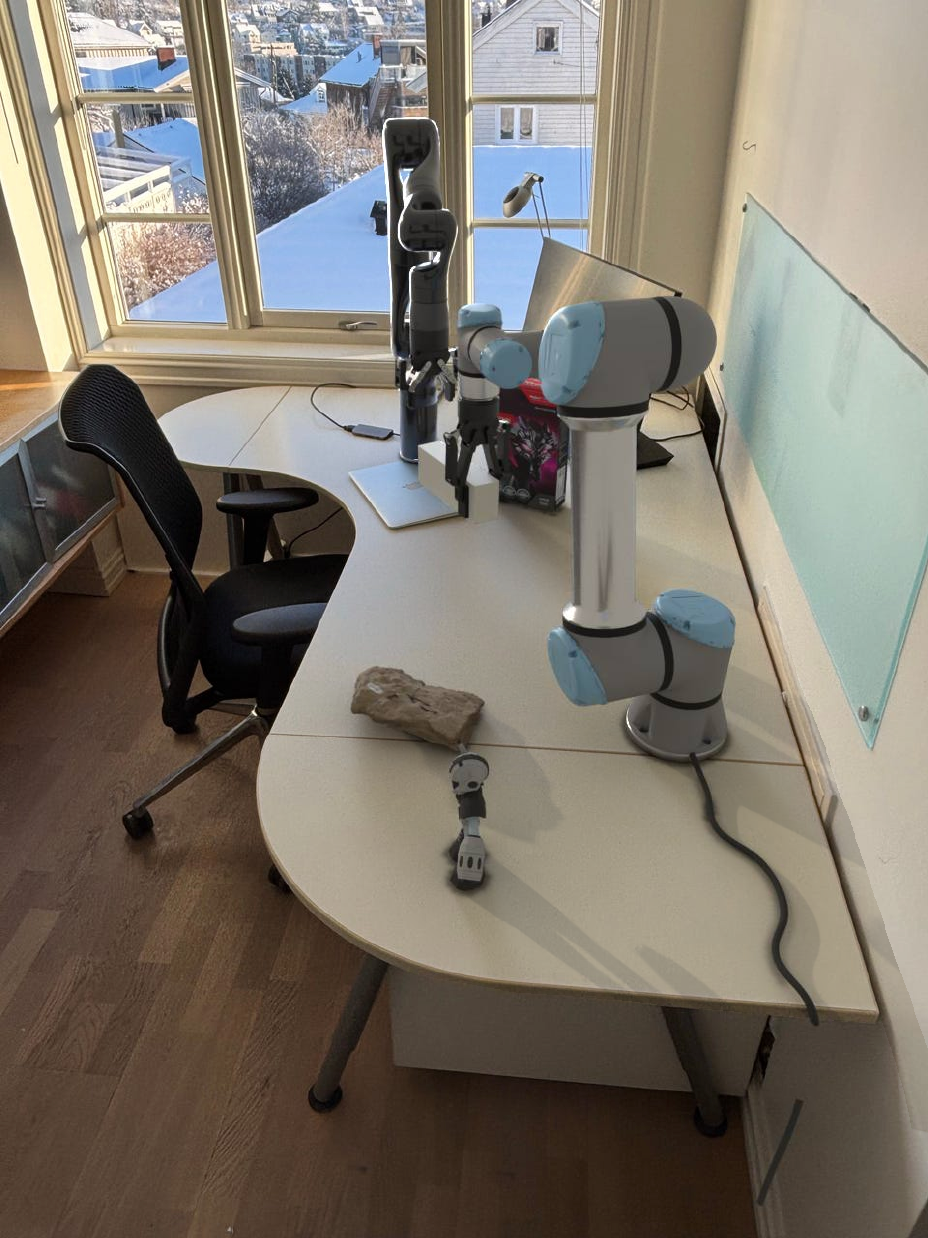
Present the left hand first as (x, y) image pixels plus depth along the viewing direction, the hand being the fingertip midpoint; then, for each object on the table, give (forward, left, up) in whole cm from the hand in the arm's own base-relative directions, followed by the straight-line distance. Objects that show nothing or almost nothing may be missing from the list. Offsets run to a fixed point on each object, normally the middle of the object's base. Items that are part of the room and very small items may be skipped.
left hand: (430, 404), depth 184 cm
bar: (+12, +4, -16) cm, 20 cm away
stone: (+64, -11, -27) cm, 71 cm away
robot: (+95, -7, -27) cm, 99 cm away
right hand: (+19, +6, -15) cm, 25 cm away
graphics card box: (-8, +22, -27) cm, 36 cm away
